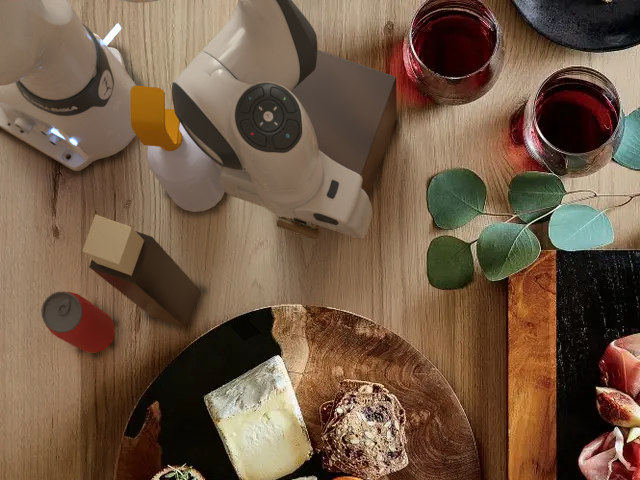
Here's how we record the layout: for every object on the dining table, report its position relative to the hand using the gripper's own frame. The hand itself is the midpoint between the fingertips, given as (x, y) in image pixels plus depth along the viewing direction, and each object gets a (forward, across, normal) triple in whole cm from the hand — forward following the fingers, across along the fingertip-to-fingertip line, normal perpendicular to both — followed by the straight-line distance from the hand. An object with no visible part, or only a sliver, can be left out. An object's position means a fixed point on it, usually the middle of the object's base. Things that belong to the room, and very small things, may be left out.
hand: (303, 218), depth 116 cm
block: (-18, -15, -16) cm, 28 cm away
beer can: (+6, -26, -24) cm, 36 cm away
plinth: (+6, -15, -16) cm, 23 cm away
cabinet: (+6, 0, +13) cm, 14 cm away
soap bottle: (+6, -18, +2) cm, 19 cm away
